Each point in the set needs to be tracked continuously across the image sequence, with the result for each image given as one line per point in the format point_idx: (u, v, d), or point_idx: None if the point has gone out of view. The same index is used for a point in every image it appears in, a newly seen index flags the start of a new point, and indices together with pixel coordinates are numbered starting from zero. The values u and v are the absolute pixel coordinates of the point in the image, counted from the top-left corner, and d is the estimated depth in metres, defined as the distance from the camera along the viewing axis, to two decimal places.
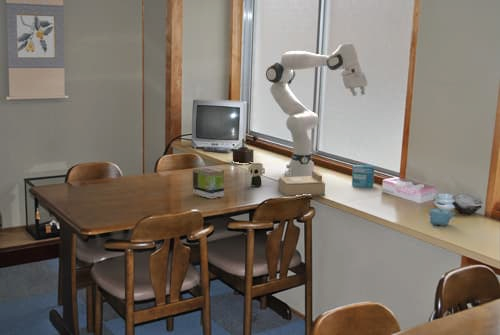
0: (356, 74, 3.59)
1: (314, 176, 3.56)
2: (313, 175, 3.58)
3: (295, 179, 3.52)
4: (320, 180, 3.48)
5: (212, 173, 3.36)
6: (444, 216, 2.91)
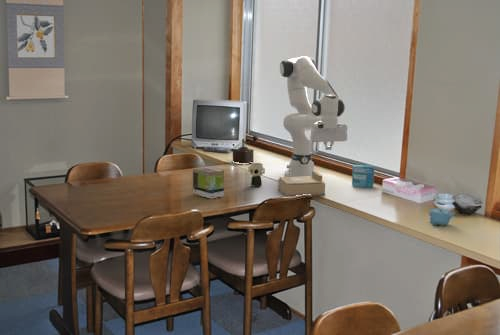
0: (327, 129, 3.47)
1: (314, 176, 3.56)
2: (313, 175, 3.58)
3: (295, 179, 3.52)
4: (320, 180, 3.48)
5: (212, 173, 3.36)
6: (444, 216, 2.91)
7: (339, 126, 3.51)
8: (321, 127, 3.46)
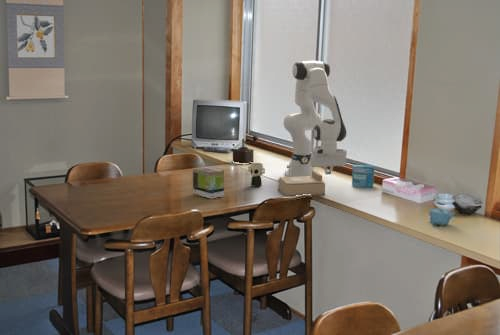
0: (326, 154, 3.50)
1: (314, 176, 3.56)
2: (313, 175, 3.58)
3: (295, 179, 3.52)
4: (320, 180, 3.48)
5: (212, 173, 3.36)
6: (444, 216, 2.91)
7: (338, 151, 3.53)
8: (320, 152, 3.48)
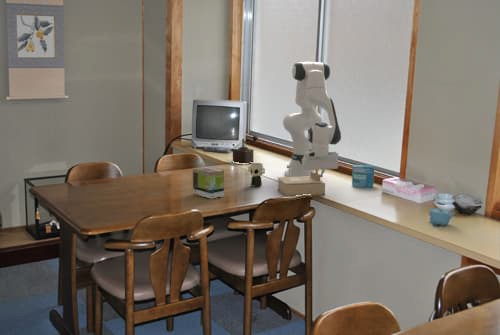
0: (318, 157, 3.49)
1: (312, 176, 3.56)
2: (311, 175, 3.57)
3: (293, 179, 3.52)
4: (318, 180, 3.48)
5: (212, 173, 3.36)
6: (444, 216, 2.91)
7: (330, 154, 3.53)
8: (312, 155, 3.48)
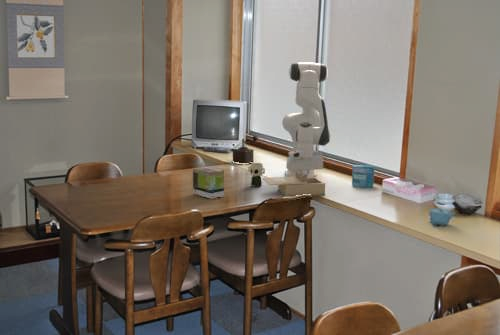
0: (303, 158, 3.48)
1: (297, 177, 3.54)
2: (296, 176, 3.56)
3: (278, 180, 3.50)
4: (303, 181, 3.46)
5: (212, 173, 3.36)
6: (444, 216, 2.91)
7: (315, 154, 3.51)
8: (297, 156, 3.46)
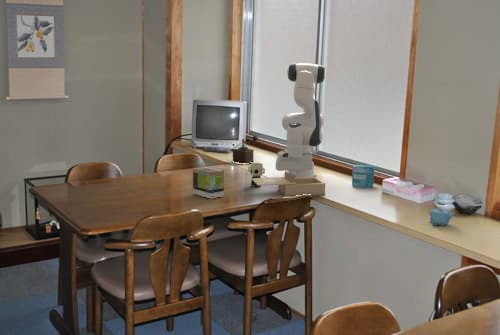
0: (292, 158, 3.46)
1: (287, 177, 3.53)
2: (286, 176, 3.54)
3: (267, 180, 3.49)
4: (292, 181, 3.45)
5: (212, 173, 3.36)
6: (444, 216, 2.91)
7: (304, 155, 3.50)
8: (286, 156, 3.45)
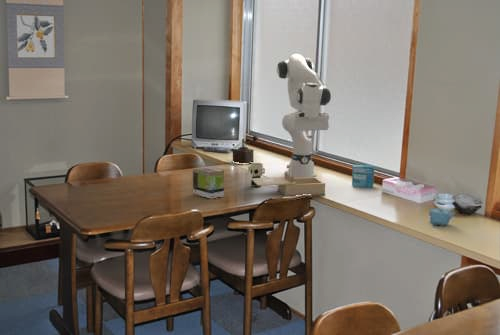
0: (308, 118, 3.46)
1: (286, 177, 3.53)
2: (285, 176, 3.54)
3: (267, 180, 3.49)
4: (292, 181, 3.45)
5: (212, 173, 3.36)
6: (444, 216, 2.91)
7: (320, 115, 3.49)
8: (302, 116, 3.45)
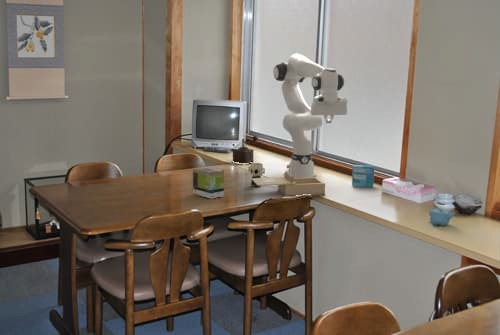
0: (327, 103, 3.52)
1: (286, 177, 3.53)
2: (285, 176, 3.54)
3: (267, 180, 3.49)
4: (292, 181, 3.45)
5: (212, 173, 3.36)
6: (444, 216, 2.91)
7: (339, 100, 3.55)
8: (321, 100, 3.50)
